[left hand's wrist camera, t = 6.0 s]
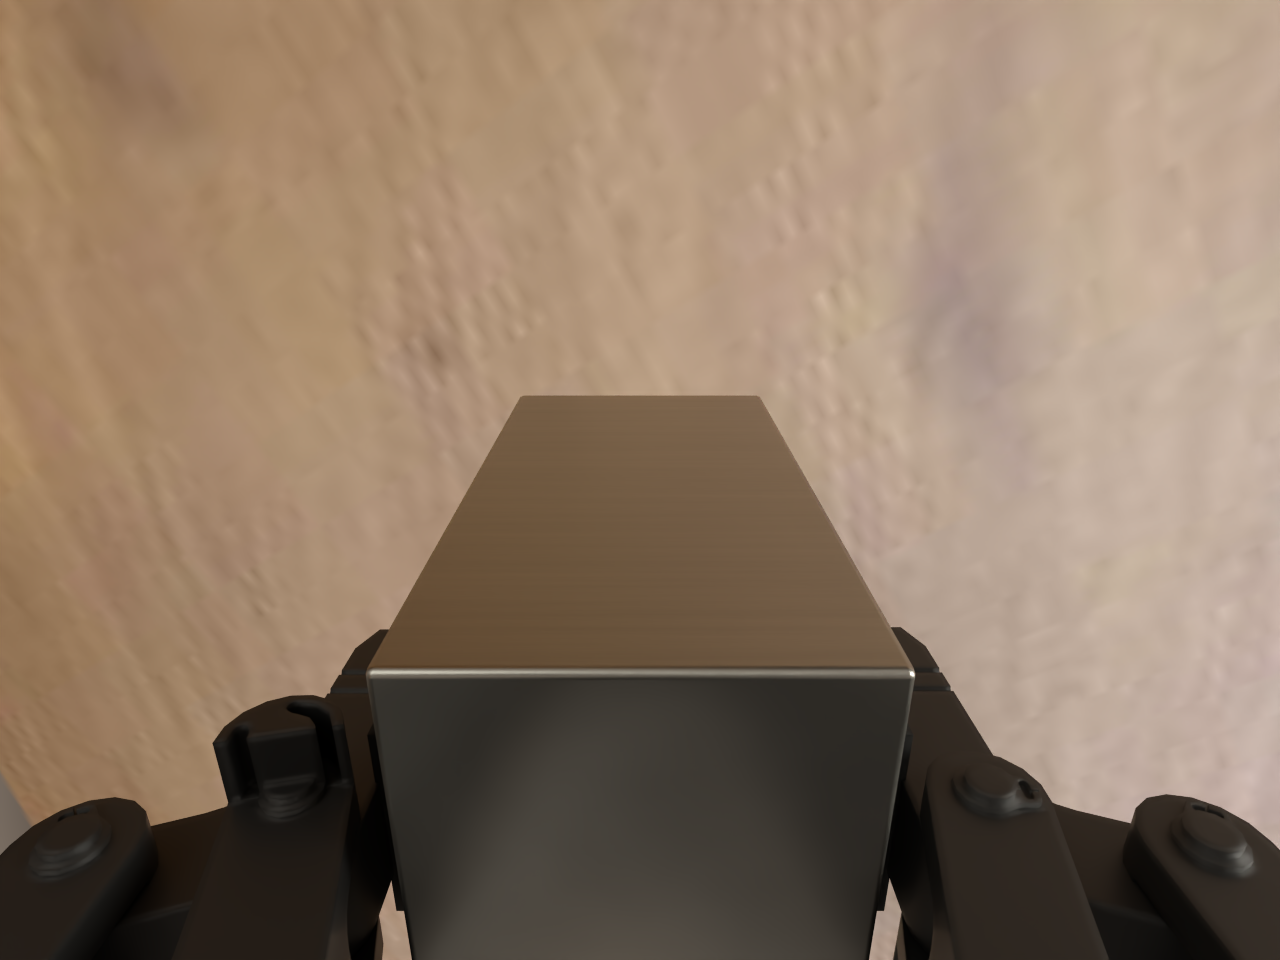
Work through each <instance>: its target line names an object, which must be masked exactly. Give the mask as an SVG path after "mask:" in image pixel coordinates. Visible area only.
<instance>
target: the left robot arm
mask: <svg viewBox="0 0 1280 960" xmlns="http://www.w3.org/2000/svg"><path fill="white" fill-rule="evenodd" d="M891 629H892V631H893V633H894V634H895V636H896V638H897V640H898V641H899V643H900V645H901V647H902V648H903V650H904V652H905V654H906V655H907V657H908V659H909V661H910V663H911V664H912V666H913V668H914V671H915V680H914V686H913V692H912V698H911V705H910V711H909V717H908V723H907V729H906V735H905V741H904V747H903V754H902V760H901V766H900V772H899V778H898V784H897V790H896V796H895V802H894V809H893V815H892V821H891V827H890V833H889V839H888V845H887V851H886V858H885V864H884V870H883V876H882V882H881V888H880V894H879V900H878V906H877V911H884V907H885V901H886V895H887V889H888V883H889V878H890V880H891V883H892V886H893V889H894V892H895V894H896V897H897V900H898V903H899V905H900V908H901V911H902V913H901V919H900V924H899V930H898V935H897V941H896V946H895V952H894V958H893V960H1280V850H1279V849H1278V848H1277V847H1276V846H1275V845H1274V844H1273V843H1272V842H1271V841H1270V840H1269V839H1268V838H1266V837H1265V836H1264V835H1263V834H1261V833H1260V832H1259V831H1258V830H1257V829H1255V828H1254V827H1253V826H1252V825H1251V824H1249V823H1248V822H1246V821H1244V820H1242V819H1241V818H1239V817H1237V816H1235V815H1233V814H1231V813H1230V812H1228V811H1226V810H1224V809H1222V808H1221V807H1218V806H1215V805H1212V804H1209V803H1206V802H1203V801H1200V800H1197V799H1195V798H1191V797H1183V796H1175V795H1167V794H1166V795H1160V796H1155V797H1149V798H1146V799H1145V800H1144V801H1143V802H1142V803H1141V804H1140V805H1139V806H1138V807H1137V808H1136V809H1135V812H1134V816H1133V819H1132V822H1131V823H1127V822H1122V821H1118V820H1114V819H1110V818H1105V817H1101V816H1097V815H1093V814H1089V813H1084V812H1080V811H1076V810H1073V809H1070V808H1066V807H1063V806H1060V805H1057V804H1054V803H1052V801H1051V800H1050V798H1049V797H1048V795H1047V793H1046V792H1045V790H1044V789H1043V787H1042V785H1041V784H1040V783H1039V782H1037V781H1036V780H1035V779H1034V778H1033V777H1032V776H1030V775H1029V774H1028V773H1027V772H1026V771H1025V770H1023V769H1022V768H1020V767H1018V766H1016V765H1014V764H1012V763H1010V762H1008V761H1006V760H1004V759H1002V758H1000V757H997V756H993V754H992V753H991V751H990V750H989V748H988V746H987V745H986V743H985V742H984V740H983V738H982V737H981V735H980V733H979V732H978V730H977V729H976V727H975V725H974V724H973V722H972V721H971V719H970V717H969V716H968V714H967V712H966V711H965V709H964V708H963V706H962V704H961V703H960V701H959V700H958V698H957V696H956V695H955V693H954V691H951V689H950V685H949V683H948V682H947V680H946V679H945V677H944V675H943V674H942V673H940V672H939V667H938V666H937V664H936V662H935V661H934V659H933V658H932V656H931V654H930V653H929V651H928V649H927V648H926V646H925V645H923V644H922V643H921V642H919V641H918V640H917V639H915V638H914V637H913V636H911V635H910V634H909V633H907V632H906V631H905V630H904V629H902V628H901V627H891ZM388 631H389V630H379V631H378V632H376V633H375V634H374V635H372V636H371V637H370V638H368V639H367V640H366V641H365V642H363V643H362V644H361V645H359V646H358V647H357V648H355V650H354V652H353V653H352V655H351V656H350V658H349V660H348V661H347V663H346V665H345V666H344V668H343V669H342V675H339V676H338V678H337V679H336V681H335V682H334V684H333V686H332V687H331V692H330V694H327V695H326V697H325V698H322V697H318V696H314V695H301V696H288V697H284V698H280V699H275V700H271V701H267V702H265V703H263V704H260V705H258V706H256V707H254V708H252V709H250V710H247V711H245V712H243V713H242V714H241V715H239V716H238V717H237V718H235V719H234V720H233V721H231V722H230V723H229V724H227V725H226V726H225V727H224V728H223V729H222V731H221V732H220V734H219V735H218V736H217V738H216V739H215V741H214V742H213V746H214V750H215V754H216V758H217V762H218V765H219V769H220V773H221V777H222V781H223V784H224V788H225V792H226V796H227V799H228V805H227V807H224V808H221V809H217V810H214V811H211V812H208V813H204V814H200V815H196V816H192V817H188V818H183V819H179V820H175V821H171V822H167V823H162V824H158V825H154V826H150V823H149V820H148V817H147V814H146V811H145V810H144V809H143V808H142V807H141V806H140V805H139V804H137V803H136V802H135V801H132V800H127V799H121V798H116V797H114V798H106V799H98V800H91V801H87V802H84V803H81V804H78V805H76V806H73V807H70V808H67V809H64V810H61V811H59V812H58V813H56V814H54V815H52V816H50V817H49V818H47V819H45V820H43V821H41V822H40V823H38V824H36V825H34V826H33V827H31V828H30V829H29V830H28V831H27V832H25V833H24V834H23V835H22V836H21V837H19V838H18V839H17V840H16V841H14V842H13V843H12V844H11V845H10V846H9V847H8V848H7V849H6V850H5V851H4V852H3V853H2V854H1V855H0V960H382V953H383V938H382V931H381V924H380V919H379V913H380V911H381V908H382V905H383V902H384V899H385V897H386V894H387V891H388V888H389V885H390V883H391V880H392V886H393V892H394V898H395V904H396V910H397V911H404V907H403V901H402V895H401V889H400V883H399V876H398V870H397V864H396V858H395V852H394V846H393V840H392V833H391V827H390V821H389V815H388V809H387V803H386V796H385V790H384V784H383V778H382V772H381V766H380V760H379V753H378V747H377V741H376V735H375V729H374V723H373V717H372V710H371V704H370V698H369V692H368V686H367V680H366V671H367V668H368V666H369V664H370V663H371V661H372V659H373V657H374V656H375V654H376V652H377V650H378V648H379V647H380V645H381V643H382V641H383V640H384V638H385V636H386V634H387V633H388Z"/></svg>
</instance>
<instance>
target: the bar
mask: <svg viewBox="0 0 1280 960" xmlns="http://www.w3.org/2000/svg"><path fill="white" fill-rule="evenodd" d="M366 680H367V686H368V692H369V698H370V704H371V710H372V717H373V723H374V729H375V735H376V741H377V747H378V753H379V760H380V766H381V772H382V778H383V784H384V790H385V796H386V803H387V809H388V815H389V821H390V827H391V833H392V840H393V846H394V852H395V858H396V864H397V870H398V876H399V883H400V889H401V895H402V901H403V907H404V913H405V919H406V926H407V932H408V938H409V944H410V950H411V956H412V960H869V955H870V949H871V943H872V937H873V931H874V925H875V919H876V913H877V906H878V900H879V894H880V888H881V882H882V876H883V870H884V864H885V858H886V851H887V845H888V839H889V833H890V827H891V821H892V815H893V809H894V802H895V796H896V790H897V784H898V778H899V772H900V766H901V760H902V754H903V747H904V741H905V735H906V729H907V723H908V717H909V711H910V705H911V698H912V692H913V686H914V680H915V671H914V668H913V666H912V664H911V663H910V661H909V659H908V657H907V655H906V654H905V652H904V650H903V648H902V647H901V645H900V643H899V641H898V640H897V638H896V636H895V634H894V633H893V631H892V629H891V627H890V626H889V624H888V622H887V620H886V618H885V617H884V615H883V613H882V611H881V610H880V608H879V606H878V604H877V603H876V601H875V599H874V597H873V596H872V594H871V592H870V590H869V589H868V587H867V585H866V583H865V582H864V580H863V578H862V576H861V574H860V573H859V571H858V569H857V567H856V566H855V564H854V562H853V560H852V559H851V557H850V555H849V553H848V552H847V550H846V548H845V546H844V545H843V543H842V541H841V539H840V537H839V536H838V534H837V532H836V530H835V529H834V527H833V525H832V523H831V522H830V520H829V518H828V516H827V515H826V513H825V511H824V509H823V508H822V506H821V504H820V502H819V501H818V499H817V497H816V495H815V493H814V492H813V490H812V488H811V486H810V485H809V483H808V481H807V479H806V478H805V476H804V474H803V472H802V471H801V469H800V467H799V465H798V464H797V462H796V460H795V458H794V456H793V455H792V453H791V451H790V449H789V448H788V446H787V444H786V442H785V441H784V439H783V437H782V435H781V434H780V432H779V430H778V428H777V427H776V425H775V423H774V421H773V420H772V418H771V416H770V414H769V412H768V411H767V409H766V407H765V405H764V404H763V402H762V400H761V398H760V397H758V396H522V397H520V399H519V401H518V403H517V404H516V406H515V408H514V410H513V411H512V413H511V415H510V417H509V418H508V420H507V422H506V424H505V426H504V427H503V429H502V431H501V433H500V434H499V436H498V438H497V440H496V441H495V443H494V445H493V447H492V449H491V450H490V452H489V454H488V456H487V457H486V459H485V461H484V463H483V464H482V466H481V468H480V470H479V472H478V473H477V475H476V477H475V479H474V480H473V482H472V484H471V486H470V487H469V489H468V491H467V493H466V495H465V496H464V498H463V500H462V502H461V503H460V505H459V507H458V509H457V510H456V512H455V514H454V516H453V518H452V519H451V521H450V523H449V525H448V526H447V528H446V530H445V532H444V533H443V535H442V537H441V539H440V541H439V542H438V544H437V546H436V548H435V549H434V551H433V553H432V555H431V556H430V558H429V560H428V562H427V564H426V565H425V567H424V569H423V571H422V572H421V574H420V576H419V578H418V579H417V581H416V583H415V585H414V587H413V588H412V590H411V592H410V594H409V595H408V597H407V599H406V601H405V602H404V604H403V606H402V608H401V610H400V611H399V613H398V615H397V617H396V618H395V620H394V622H393V624H392V625H391V627H390V629H389V631H388V633H387V634H386V636H385V638H384V640H383V641H382V643H381V645H380V647H379V648H378V650H377V652H376V654H375V656H374V657H373V659H372V661H371V663H370V664H369V666H368V668H367V671H366Z"/></svg>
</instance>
